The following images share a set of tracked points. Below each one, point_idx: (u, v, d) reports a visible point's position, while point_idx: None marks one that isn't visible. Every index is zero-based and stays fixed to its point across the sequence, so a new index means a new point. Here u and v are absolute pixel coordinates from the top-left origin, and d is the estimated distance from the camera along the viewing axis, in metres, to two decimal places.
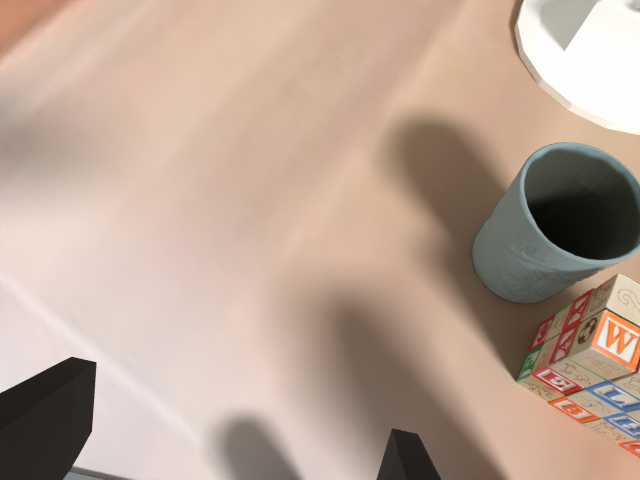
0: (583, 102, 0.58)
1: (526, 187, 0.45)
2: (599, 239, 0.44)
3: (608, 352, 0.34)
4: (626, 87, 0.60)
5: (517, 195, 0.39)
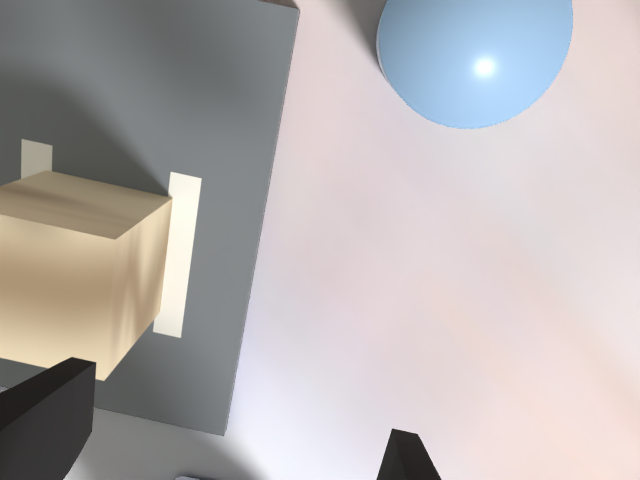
0: None
1: None
2: None
3: None
4: None
5: None
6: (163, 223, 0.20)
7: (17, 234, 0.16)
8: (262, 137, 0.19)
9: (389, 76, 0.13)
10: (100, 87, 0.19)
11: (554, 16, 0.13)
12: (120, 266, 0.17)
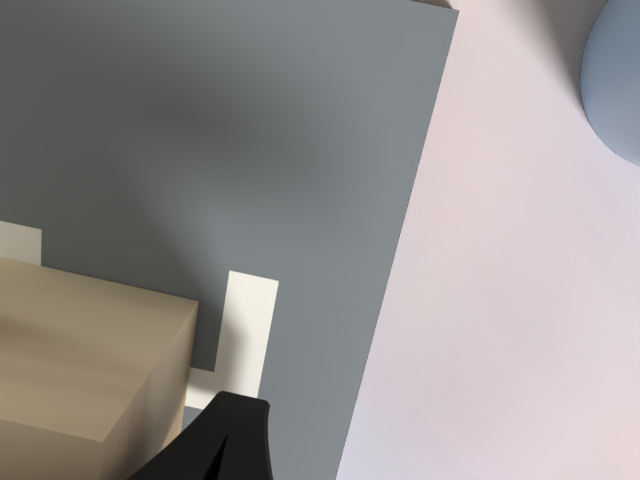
0: None
1: None
2: None
3: None
4: None
5: None
6: (184, 346, 0.13)
7: None
8: (382, 219, 0.12)
9: None
10: (118, 140, 0.12)
11: None
12: (113, 469, 0.09)
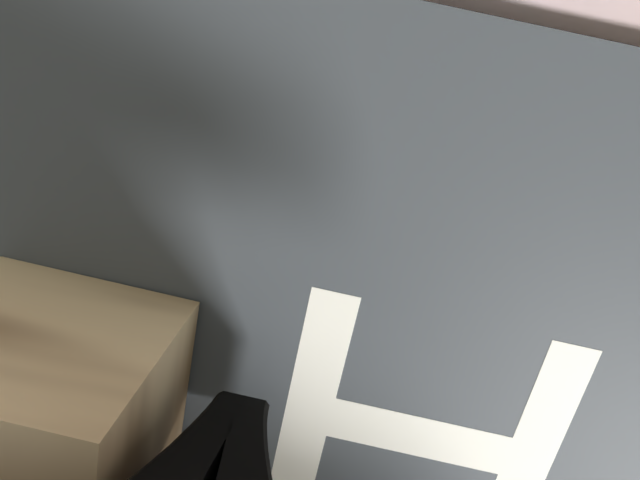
0: None
1: None
2: None
3: None
4: None
5: None
6: (185, 347, 0.12)
7: None
8: None
9: None
10: (462, 213, 0.12)
11: None
12: (111, 471, 0.09)
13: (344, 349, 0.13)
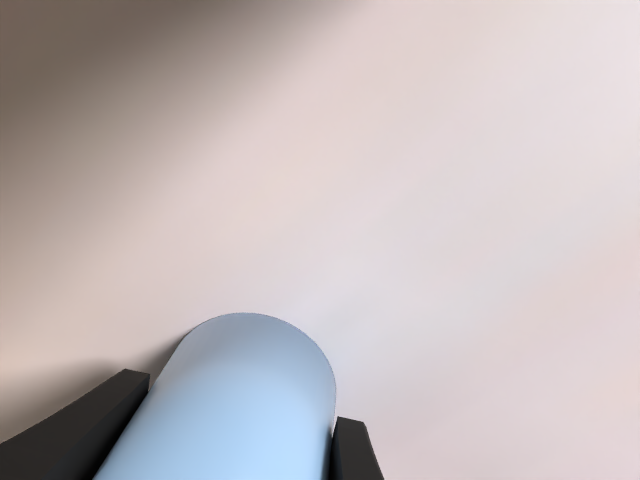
0: None
1: None
2: None
3: None
4: None
5: None
6: None
7: None
8: None
9: None
10: None
11: None
12: None
13: None
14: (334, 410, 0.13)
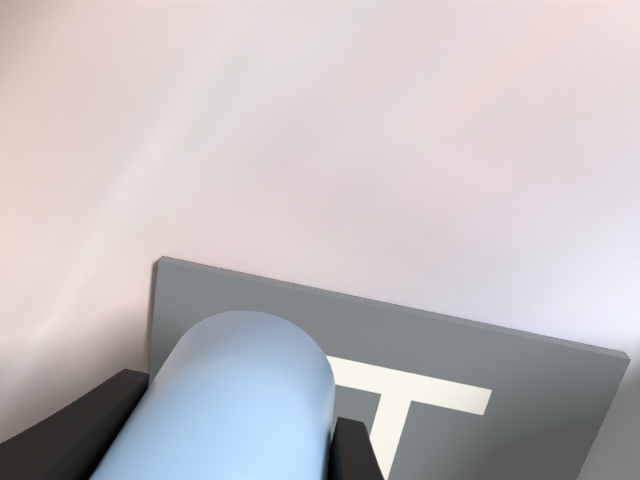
0: None
1: None
2: None
3: None
4: None
5: None
6: None
7: None
8: (273, 296, 0.20)
9: None
10: None
11: None
12: None
13: None
14: (333, 405, 0.13)
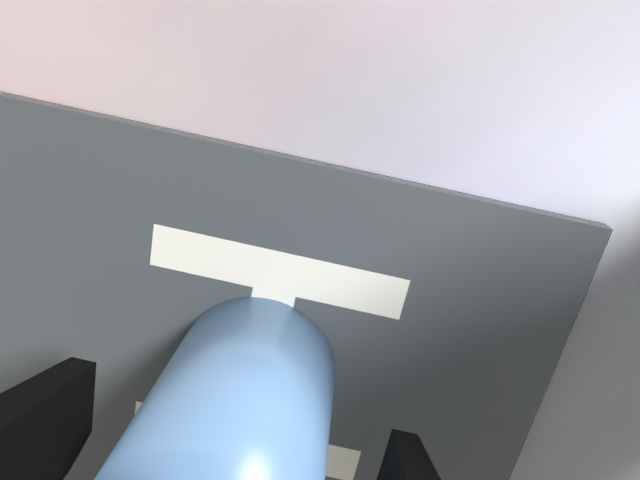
0: None
1: None
2: None
3: None
4: None
5: None
6: None
7: None
8: (84, 132, 0.14)
9: None
10: (57, 334, 0.16)
11: (161, 470, 0.09)
12: None
13: None
14: (333, 383, 0.15)
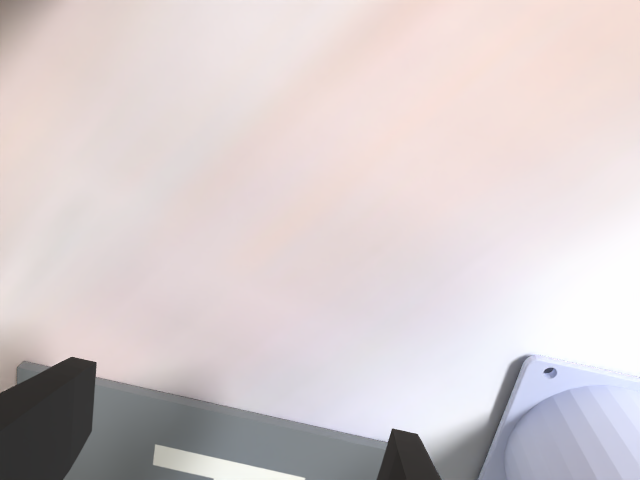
0: None
1: None
2: None
3: None
4: None
5: None
6: None
7: None
8: (115, 398, 0.24)
9: None
10: None
11: None
12: None
13: None
14: None
